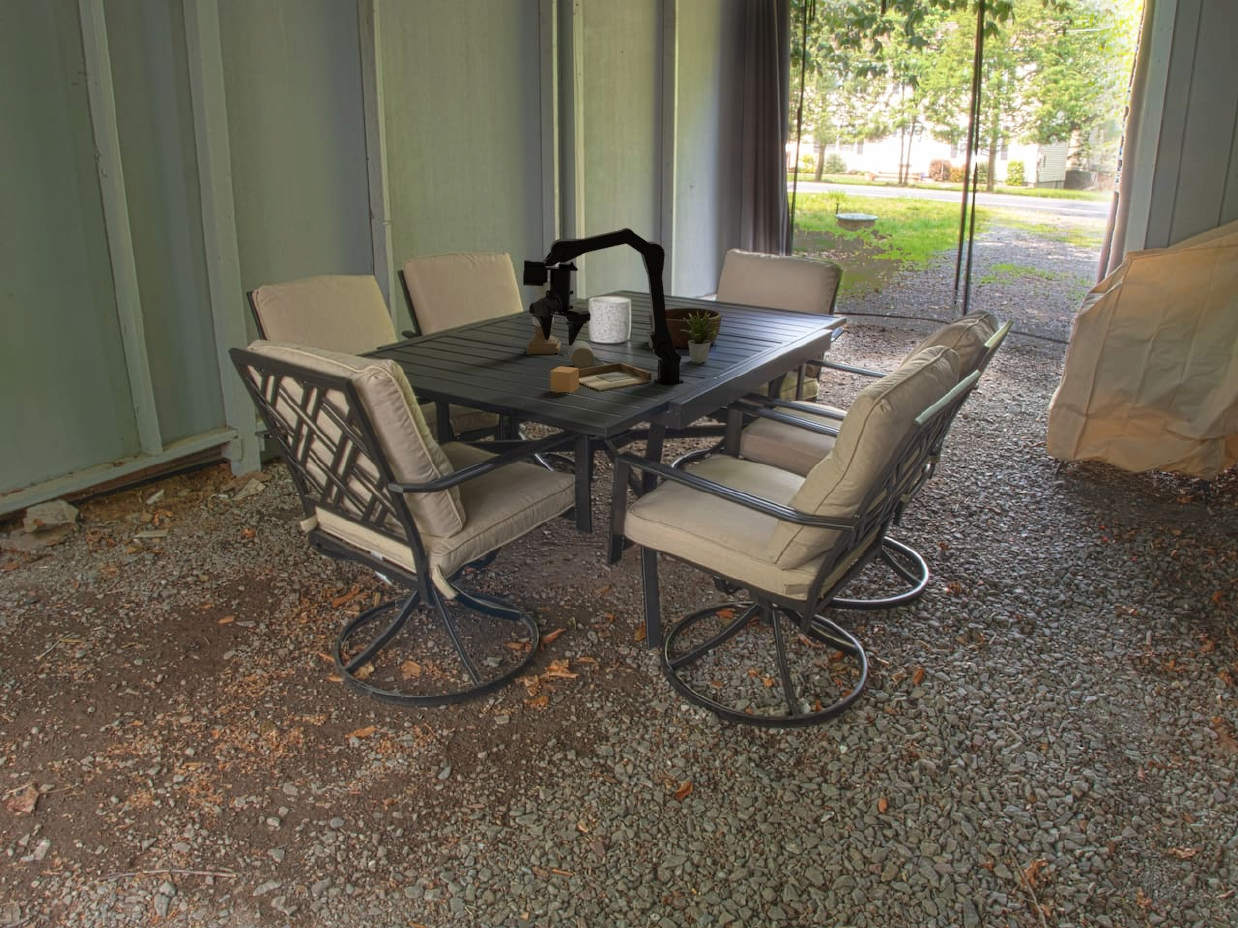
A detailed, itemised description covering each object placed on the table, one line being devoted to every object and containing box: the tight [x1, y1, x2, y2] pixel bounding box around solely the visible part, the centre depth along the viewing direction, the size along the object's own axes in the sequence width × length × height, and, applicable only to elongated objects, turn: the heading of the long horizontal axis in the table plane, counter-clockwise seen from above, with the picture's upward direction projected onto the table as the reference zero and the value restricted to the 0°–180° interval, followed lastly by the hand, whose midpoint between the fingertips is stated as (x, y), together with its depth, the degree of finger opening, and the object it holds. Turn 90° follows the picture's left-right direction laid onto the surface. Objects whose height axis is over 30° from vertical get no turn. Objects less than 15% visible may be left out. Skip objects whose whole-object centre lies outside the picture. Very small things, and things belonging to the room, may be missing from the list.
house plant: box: [680, 311, 723, 364], centre depth 274 cm, size 14×14×16 cm
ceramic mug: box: [567, 340, 605, 369], centre depth 270 cm, size 11×8×8 cm
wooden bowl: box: [648, 307, 723, 349], centre depth 302 cm, size 25×25×10 cm
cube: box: [549, 366, 580, 394], centre depth 245 cm, size 6×6×6 cm
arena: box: [579, 361, 653, 392], centre depth 255 cm, size 16×18×3 cm
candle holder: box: [525, 276, 562, 355], centre depth 290 cm, size 11×11×24 cm
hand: (558, 342), depth 246 cm, fingers open, 9 cm apart
